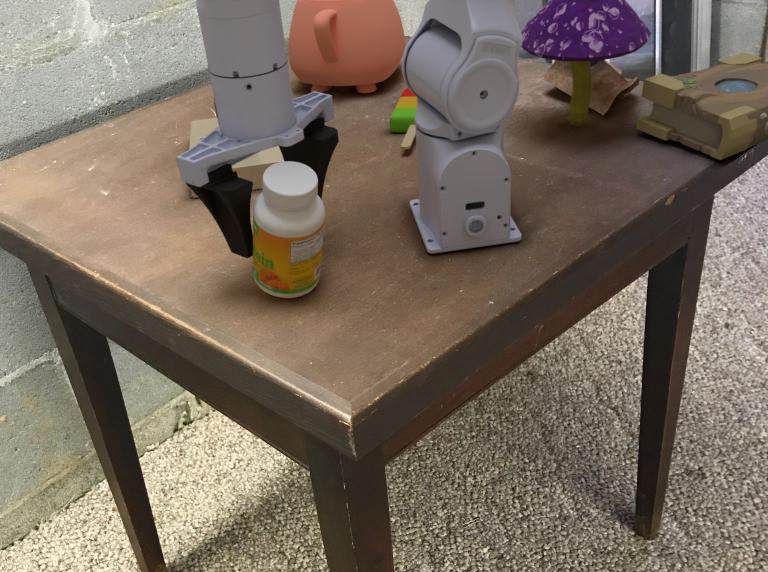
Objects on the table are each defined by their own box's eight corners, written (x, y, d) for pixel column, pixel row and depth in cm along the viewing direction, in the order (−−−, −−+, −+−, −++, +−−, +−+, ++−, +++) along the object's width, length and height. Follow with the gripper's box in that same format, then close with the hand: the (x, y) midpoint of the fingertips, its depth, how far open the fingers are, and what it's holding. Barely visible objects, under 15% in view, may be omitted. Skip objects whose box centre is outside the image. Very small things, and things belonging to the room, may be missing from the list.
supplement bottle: (240, 266, 71) (239, 166, 63) (298, 246, 73) (303, 147, 65) (273, 308, 68) (276, 210, 60) (332, 286, 70) (341, 188, 63)
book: (732, 92, 93) (743, 44, 90) (825, 124, 86) (841, 73, 83) (635, 128, 87) (643, 78, 84) (727, 166, 80) (739, 113, 77)
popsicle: (453, 101, 99) (452, 84, 98) (432, 157, 88) (431, 138, 87) (405, 101, 100) (404, 84, 99) (379, 157, 89) (377, 139, 88)
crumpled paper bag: (638, 76, 89) (660, 97, 95) (556, 17, 94) (582, 41, 100) (601, 123, 91) (625, 141, 97) (523, 63, 96) (551, 84, 102)
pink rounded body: (423, 51, 113) (418, -52, 106) (383, 110, 99) (374, -5, 91) (326, 51, 117) (315, -48, 109) (273, 107, 102) (256, -3, 95)
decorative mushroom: (491, 132, 91) (491, -24, 81) (564, 94, 97) (572, -54, 88) (592, 161, 83) (605, -7, 74) (664, 118, 90) (685, -41, 80)
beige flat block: (315, 181, 86) (311, 155, 84) (192, 198, 85) (186, 172, 83) (304, 128, 97) (301, 104, 95) (196, 143, 96) (190, 119, 94)
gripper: (209, 108, 57) (245, 287, 65) (355, 43, 65) (370, 209, 73) (142, 90, 61) (184, 261, 69) (288, 30, 69) (310, 190, 77)
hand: (276, 233), depth 72 cm, fingers open, 7 cm apart
